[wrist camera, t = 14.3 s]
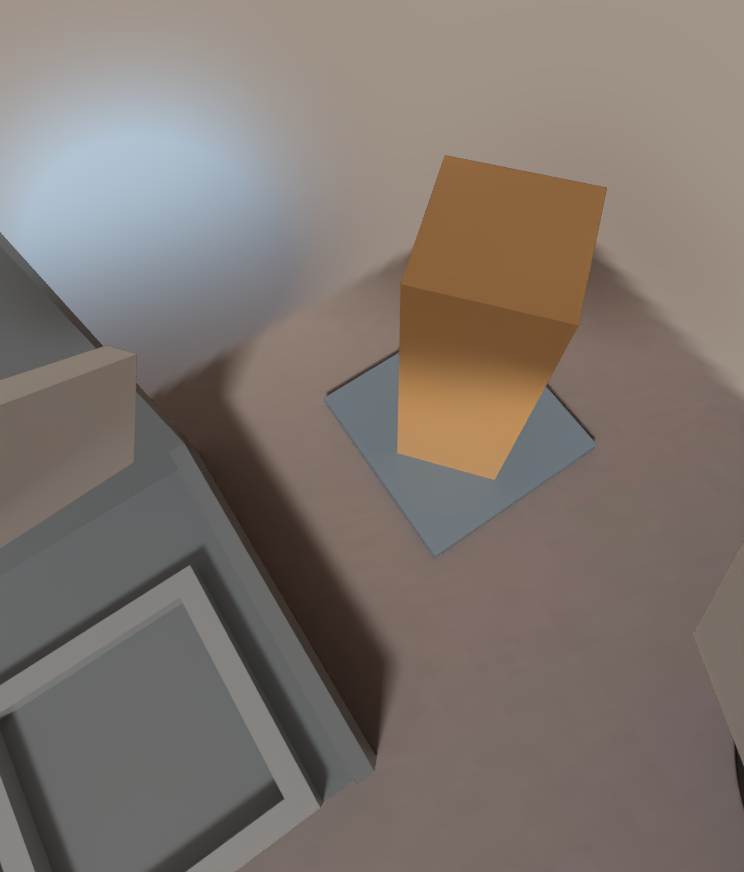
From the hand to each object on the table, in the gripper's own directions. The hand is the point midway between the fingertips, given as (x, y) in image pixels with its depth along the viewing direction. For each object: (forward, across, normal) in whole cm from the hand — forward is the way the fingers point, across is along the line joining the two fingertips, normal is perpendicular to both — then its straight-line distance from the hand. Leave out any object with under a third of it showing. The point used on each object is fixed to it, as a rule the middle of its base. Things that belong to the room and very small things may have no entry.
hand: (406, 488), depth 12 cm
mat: (+18, 0, -5) cm, 18 cm away
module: (+17, 0, -5) cm, 18 cm away
